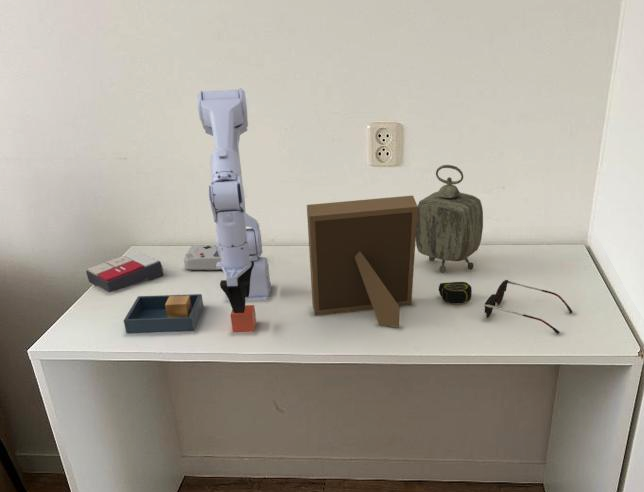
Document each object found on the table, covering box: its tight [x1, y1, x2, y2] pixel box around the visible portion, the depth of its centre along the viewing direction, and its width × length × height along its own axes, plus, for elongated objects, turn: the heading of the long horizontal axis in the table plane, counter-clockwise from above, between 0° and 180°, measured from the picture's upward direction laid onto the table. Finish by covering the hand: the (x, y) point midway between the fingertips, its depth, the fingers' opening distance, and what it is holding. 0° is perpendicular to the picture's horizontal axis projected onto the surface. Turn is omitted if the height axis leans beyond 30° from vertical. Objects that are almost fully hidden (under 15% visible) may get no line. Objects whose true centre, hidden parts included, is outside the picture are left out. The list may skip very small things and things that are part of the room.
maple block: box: [165, 294, 192, 318], centre depth 160 cm, size 4×4×4 cm
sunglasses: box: [484, 279, 574, 335], centre depth 156 cm, size 14×16×5 cm
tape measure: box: [438, 281, 473, 305], centre depth 164 cm, size 7×7×4 cm
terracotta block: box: [230, 304, 257, 333], centre depth 156 cm, size 4×4×4 cm
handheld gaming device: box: [183, 245, 223, 271], centre depth 187 cm, size 9×15×4 cm, turn 85°
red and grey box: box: [85, 251, 165, 293], centre depth 182 cm, size 11×4×15 cm
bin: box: [123, 293, 204, 334], centre depth 161 cm, size 14×12×4 cm
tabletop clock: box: [415, 164, 484, 273], centre depth 174 cm, size 14×9×25 cm, turn 58°
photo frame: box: [306, 195, 418, 328], centre depth 153 cm, size 15×22×25 cm
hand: (241, 304), depth 154 cm, fingers open, 7 cm apart
